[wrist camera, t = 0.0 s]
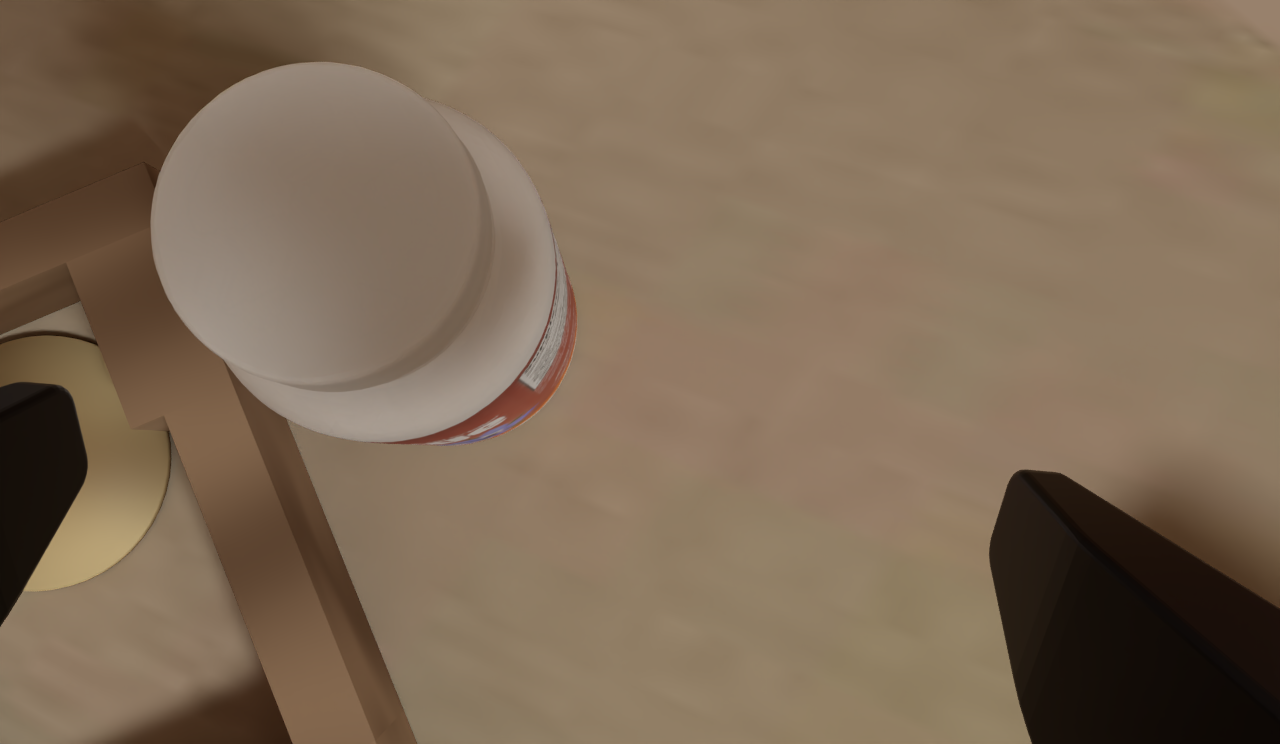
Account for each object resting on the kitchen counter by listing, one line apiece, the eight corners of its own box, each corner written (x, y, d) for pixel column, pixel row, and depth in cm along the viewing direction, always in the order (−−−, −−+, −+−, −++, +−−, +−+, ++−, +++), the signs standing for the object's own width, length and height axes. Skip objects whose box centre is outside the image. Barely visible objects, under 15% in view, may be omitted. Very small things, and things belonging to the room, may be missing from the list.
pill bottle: (313, 415, 24) (34, 384, 13) (373, 184, 25) (154, -35, 13) (550, 471, 24) (473, 485, 13) (605, 237, 24) (576, 59, 13)
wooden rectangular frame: (492, 930, 23) (474, 989, 20) (28, 1141, 22) (-48, 1227, 20) (194, 191, 24) (143, 162, 22) (-245, 375, 24) (-347, 366, 22)
